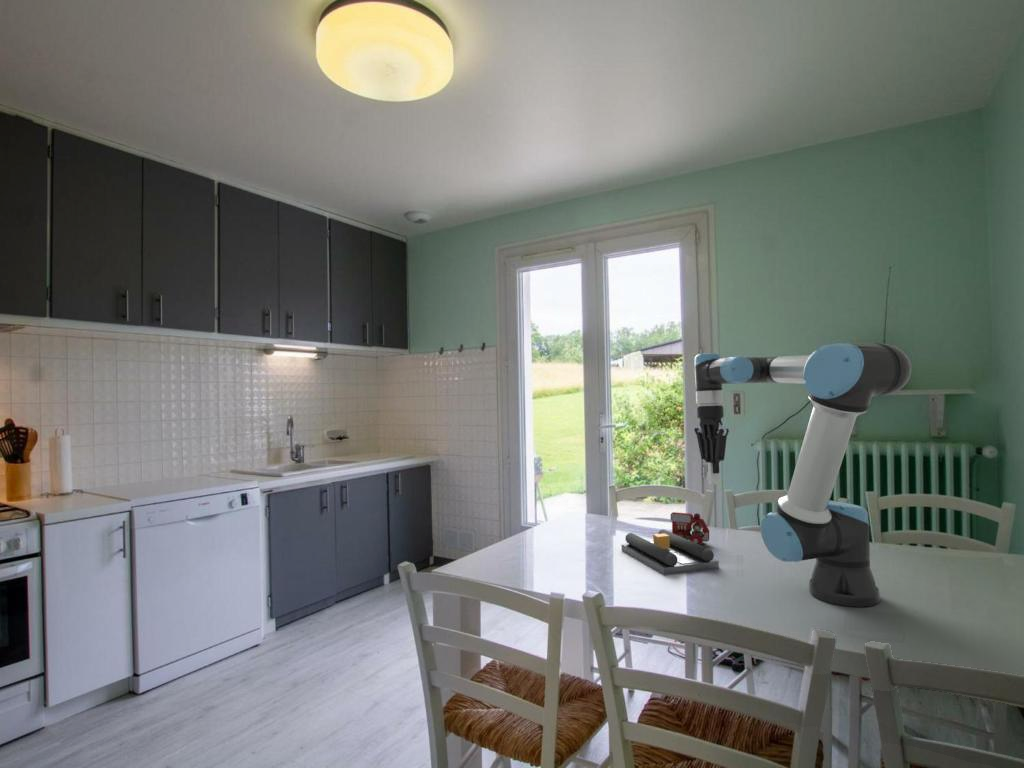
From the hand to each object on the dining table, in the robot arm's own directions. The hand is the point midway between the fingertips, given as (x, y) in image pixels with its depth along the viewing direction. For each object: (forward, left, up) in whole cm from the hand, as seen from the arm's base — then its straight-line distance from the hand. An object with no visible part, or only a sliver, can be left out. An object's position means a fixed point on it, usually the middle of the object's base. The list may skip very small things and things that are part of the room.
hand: (713, 484), depth 166 cm
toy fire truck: (+22, -6, -24) cm, 33 cm away
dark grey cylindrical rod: (+10, +4, -22) cm, 24 cm away
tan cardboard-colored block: (+13, +10, -21) cm, 27 cm away
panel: (+10, +10, -24) cm, 28 cm away
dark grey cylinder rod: (+10, +16, -22) cm, 29 cm away
